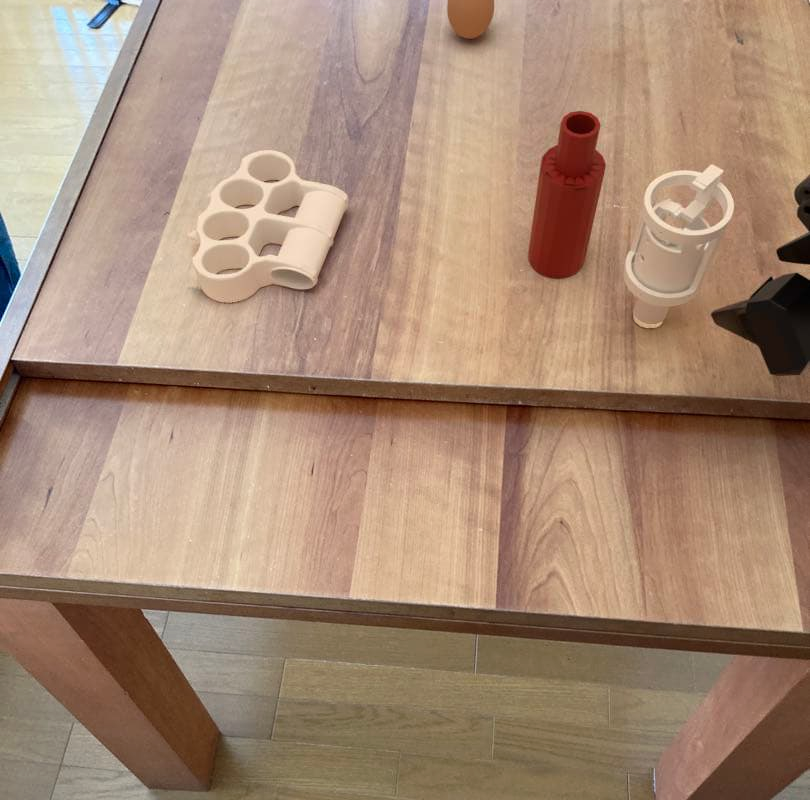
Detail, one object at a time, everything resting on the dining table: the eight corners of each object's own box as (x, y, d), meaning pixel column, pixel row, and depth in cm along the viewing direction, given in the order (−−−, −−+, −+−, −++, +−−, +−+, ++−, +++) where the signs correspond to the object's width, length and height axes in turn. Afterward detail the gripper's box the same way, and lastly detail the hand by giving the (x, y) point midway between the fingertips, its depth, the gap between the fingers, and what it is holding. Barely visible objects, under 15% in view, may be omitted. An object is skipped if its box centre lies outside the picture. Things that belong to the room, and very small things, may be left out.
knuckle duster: (306, 319, 79) (167, 292, 81) (359, 190, 87) (230, 168, 89) (301, 295, 76) (156, 267, 78) (356, 163, 84) (223, 141, 86)
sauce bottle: (576, 232, 83) (604, 97, 70) (590, 274, 81) (622, 141, 67) (522, 240, 83) (540, 106, 69) (535, 282, 81) (556, 151, 67)
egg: (454, 53, 96) (456, -8, 90) (441, 26, 98) (441, -36, 92) (498, 44, 96) (503, -18, 90) (483, 17, 99) (487, -46, 92)
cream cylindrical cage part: (700, 313, 78) (756, 186, 65) (656, 358, 76) (705, 238, 63) (640, 275, 80) (681, 145, 67) (596, 318, 78) (629, 193, 65)
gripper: (987, 62, 53) (777, 134, 67) (829, 217, 48) (635, 261, 61) (1025, 217, 58) (821, 256, 71) (885, 375, 52) (693, 384, 66)
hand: (746, 285), depth 67 cm, fingers open, 9 cm apart
